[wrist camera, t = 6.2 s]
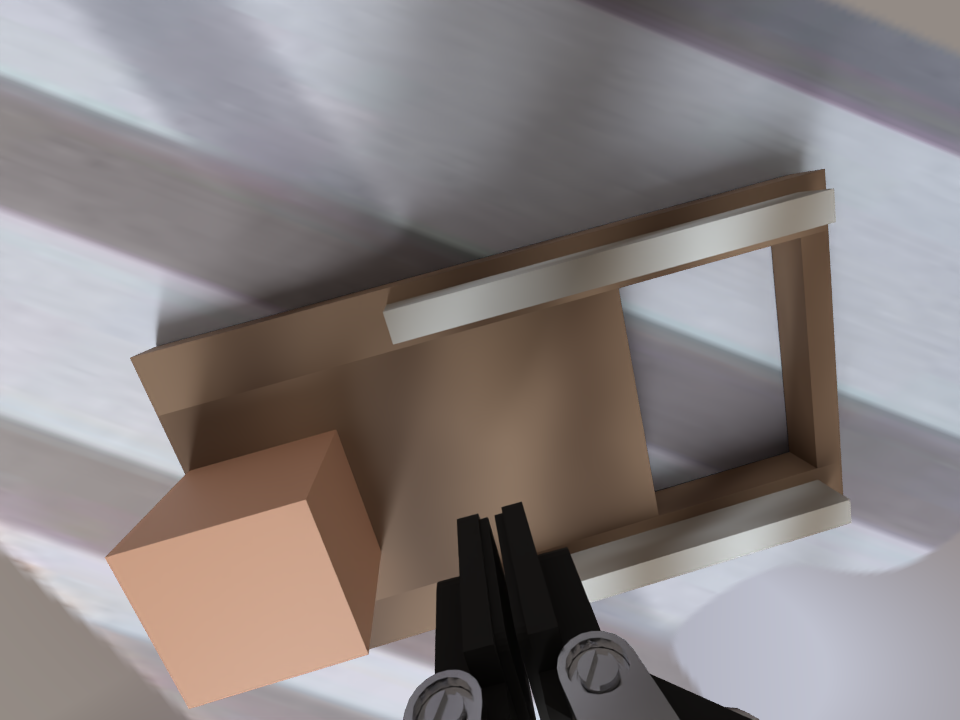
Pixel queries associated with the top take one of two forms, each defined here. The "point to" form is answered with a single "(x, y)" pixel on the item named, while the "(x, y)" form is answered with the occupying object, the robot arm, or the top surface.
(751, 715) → the rook chess piece
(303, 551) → the block
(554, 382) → the tan rectangular frame
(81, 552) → the top surface
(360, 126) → the top surface
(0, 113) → the top surface
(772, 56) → the top surface
